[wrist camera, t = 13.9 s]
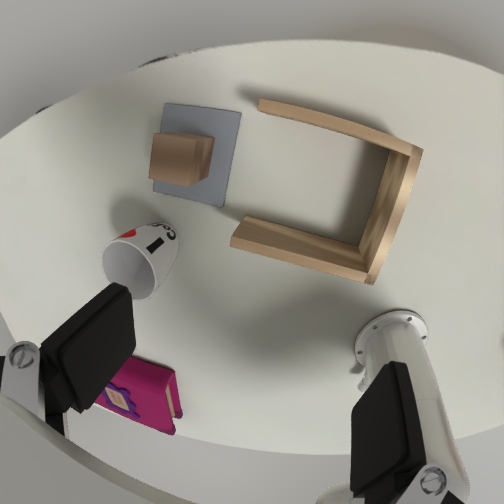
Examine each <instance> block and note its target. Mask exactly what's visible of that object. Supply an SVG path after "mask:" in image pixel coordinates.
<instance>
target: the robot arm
mask: <svg viewBox="0 0 504 504" xmlns="http://www.w3.org/2000/svg"><path fill="white" fill-rule="evenodd" d="M427 340H428V329H427V326H426V324H425V322H424V320H423V319H422V318H421V317H420V316H419V315H417V314H416V313H413V312H410V311H393V312H389V313H386V314H383V315H381V316H379V317H377V318H375V319H373V320H372V321H371V322H369V323H368V324H367V325H366V326H365V327H364V328H363V329H362V330H361V332H360V333H359V334H358V336H357V339H356V342H355V354H356V358H357V360H358V361H359V362H360V363H361V365H363V366H364V367H366V372H365V374H364V376H365V377H364V378H363V379H362V380H361V381H360V383H359V384H358V389H359V390H360V391H362V392H364V391H365V393H364V394H363V395H362V397H361V398H360V399H359V401H358V402H357V403H356V405H355V406H354V407H353V410H352V414H351V474H350V481H347V482H343V483H339V484H336V485H333V486H331V487H329V488H327V489H326V490H324V491H323V492H322V493H321V494H320V496H319V497H318V499H317V502H316V504H466V503H467V500H468V498H469V493H470V484H469V479H468V475H467V472H466V470H465V467H464V464H463V461H462V459H461V456H460V454H459V451H458V448H457V446H456V443H455V440H454V437H453V434H452V430H451V427H450V424H449V420H448V417H447V413H446V410H445V406H444V403H443V399H442V396H441V393H440V390H439V386H438V383H437V380H436V377H435V374H434V371H433V368H432V365H431V363H430V360H429V357H428V354H427V352H426V349H425V345H426V342H427ZM135 347H136V339H135V330H134V319H133V307H132V295H131V293H130V292H129V289H128V287H126V286H124V285H121V284H118V283H116V282H113V283H111V284H110V285H108V286H107V287H106V288H105V289H104V290H102V291H101V292H100V293H99V294H97V295H96V296H95V297H94V298H93V299H91V300H90V301H89V302H88V303H87V304H85V305H84V306H83V307H82V308H81V309H80V310H78V311H77V312H76V313H75V314H74V315H73V316H71V317H70V318H69V319H68V320H67V321H66V322H65V323H63V324H62V325H61V326H60V327H59V328H58V329H57V330H56V331H54V332H53V333H52V334H51V335H50V336H49V337H48V338H47V339H46V340H44V341H43V342H42V343H41V347H40V348H39V349H38V347H37V346H36V345H35V344H34V343H32V342H29V341H21V342H18V343H16V344H14V345H12V346H11V347H10V348H9V350H8V351H7V354H6V356H0V504H197V503H194V502H191V501H188V500H185V499H182V498H179V497H177V496H174V495H172V494H169V493H167V492H164V491H162V490H159V489H157V488H155V487H152V486H150V485H148V484H146V483H143V482H141V481H139V480H137V479H135V478H133V477H131V476H129V475H127V474H125V473H123V472H121V471H119V470H117V469H116V468H114V467H112V466H110V465H108V464H106V463H105V462H103V461H101V460H100V459H98V458H96V457H95V456H93V455H91V454H90V453H88V452H87V451H85V450H83V449H82V448H80V447H79V446H77V445H76V444H74V443H73V442H71V441H70V438H69V430H68V421H67V410H68V409H69V408H70V407H71V408H73V409H74V410H76V411H77V412H79V413H80V414H81V413H82V412H83V411H84V409H86V410H87V409H89V408H90V407H91V405H92V404H93V403H94V402H95V400H96V399H97V398H98V396H99V395H100V394H101V393H102V391H103V390H104V389H105V387H106V386H107V385H108V384H109V382H110V381H111V380H112V378H113V377H114V376H115V375H116V373H117V372H118V371H119V370H120V368H121V367H122V366H123V364H124V363H125V362H126V361H127V359H128V358H129V357H130V356H131V354H132V353H133V352H134V350H135Z"/></svg>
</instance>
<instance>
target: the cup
mask: <svg viewBox="0 0 504 504" xmlns="http://www.w3.org/2000/svg"><path fill="white" fill-rule="evenodd" d="M179 244H180V241H179V236H178V234H177V232H176V231H175V229H174V228H173V227H172V226H170V225H168V224H166V223H153V224H147V225H144V226H141V227H139V228H136V229H133V230H130V231H129V232H127V233H125V234H123V235H121V236H120V237H118V238H116V239H115V240H113V241H111V242H109V243H108V244H107V245H106V246H105V247H104V249H103V251H102V254H101V266H102V270H103V273H104V275H105V278H106V279H107V281H108V283H109V284H111V283H113V282H116V283H118V284H121V285H124V286H126V287H128V289H129V292H130V293H131V295H132V300H133V301H144V300H147V299H149V298H150V297H151V296H152V295H153V294H154V292H155V291H156V290H157V288H158V287H159V285H160V284H161V283H162V281H163V280H164V278H165V277H166V276H167V274H168V272H169V270H170V268H171V266H172V264H173V262H174V260H175V259H176V256H177V252H178V248H179Z"/></svg>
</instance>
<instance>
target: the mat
mask: <svg viewBox="0 0 504 504" xmlns="http://www.w3.org/2000/svg"><path fill="white" fill-rule="evenodd" d="M241 115H242V113H237V112H231V111H224V110H218V109H211V108H203V107H195V106H186V105H176V104H165V105H164V111H163V117H162V123H161V130H160V133H168V132H184V133H190V134H197V135H203V136H208V137H214V138H215V141H214V146H213V152H212V157H211V163H210V168H209V174H208V177H207V178H205V179H203V180H201V181H199V182H197V183H196V184H194V185H192V186H190V187H187V186H182V185H178V184H173V183H168V182H164V181H159V180H154V188H153V192H158V193H162V194H167V195H171V196H175V197H180V198H184V199H188V200H193V201H197V202H201V203H205V204H209V205H213V206H217V207H224V202H225V196H226V190H227V185H228V180H229V174H230V169H231V164H232V159H233V154H234V149H235V144H236V139H237V134H238V129H239V124H240V119H241Z"/></svg>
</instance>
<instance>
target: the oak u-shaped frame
mask: <svg viewBox="0 0 504 504" xmlns="http://www.w3.org/2000/svg"><path fill="white" fill-rule="evenodd" d="M257 110H258V111H260V112H263V113H266V114H269V115H273V116H278V117H282V118H287V119H291V120H295V121H299V122H303V123H307V124H311V125H315V126H318V127H322V128H325V129H329V130H332V131H336V132H339V133H342V134H345V135H348V136H352V137H355V138H358V139H361V140H364V141H366V142H369V143H372V144H375V145H378V146H380V147H383V148H386V149H388V150H390V152H389V156H388V159H387V163H386V166H385V170H384V173H383V176H382V180H381V183H380V186H379V189H378V192H377V195H376V198H375V201H374V204H373V207H372V210H371V213H370V216H369V219H368V222H367V225H366V227H365V230H364V233H363V236H362V238H361V241H360V244H359V246H358V247H357V246H353V245H350V244H346V243H343V242H340V241H336V240H333V239H329V238H326V237H322V236H319V235H315V234H312V233H308V232H304V231H301V230H297V229H294V228H290V227H286V226H283V225H279V224H275V223H271V222H268V221H264V220H260V219H256V218H252V217H249V216H245V217H244V219H243V220H242V221H241V223H240V224H239V226H238V227H237V229H236V230H235V232H234V233H233V235H232V236H231V241H230V246H231V247H234V248H238V249H242V250H245V251H249V252H253V253H256V254H260V255H264V256H267V257H271V258H275V259H278V260H282V261H286V262H289V263H293V264H297V265H300V266H304V267H308V268H311V269H315V270H319V271H322V272H326V273H330V274H333V275H337V276H341V277H344V278H348V279H352V280H355V281H359V282H363V283H366V284H370V285H374V283H375V281H376V278H377V276H378V274H379V272H380V269H381V267H382V265H383V263H384V260H385V258H386V256H387V253H388V251H389V249H390V246H391V244H392V241H393V239H394V236H395V234H396V231H397V229H398V226H399V223H400V221H401V218H402V215H403V213H404V210H405V207H406V204H407V201H408V198H409V195H410V192H411V189H412V186H413V183H414V180H415V177H416V174H417V170H418V167H419V164H420V160H421V157H422V153H423V149H422V148H419V147H417V146H415V145H413V144H410V143H408V142H406V141H403V140H401V139H398V138H396V137H393V136H391V135H388V134H386V133H383V132H380V131H378V130H375V129H372V128H369V127H366V126H364V125H361V124H358V123H355V122H352V121H348V120H345V119H342V118H339V117H335V116H332V115H329V114H325V113H322V112H318V111H314V110H310V109H306V108H302V107H298V106H294V105H290V104H285V103H281V102H276V101H271V100H266V99H261V98H260V100H259V104H258V109H257Z"/></svg>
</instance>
